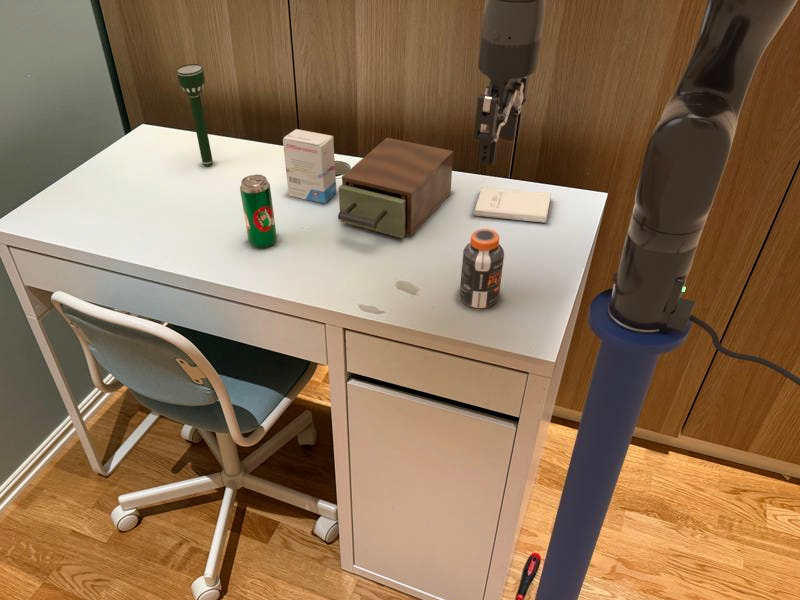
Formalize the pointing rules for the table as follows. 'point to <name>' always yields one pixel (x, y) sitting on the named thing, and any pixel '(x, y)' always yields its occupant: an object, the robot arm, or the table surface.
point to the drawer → (373, 209)
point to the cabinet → (407, 176)
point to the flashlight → (196, 105)
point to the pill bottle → (481, 269)
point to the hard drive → (513, 205)
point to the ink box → (310, 165)
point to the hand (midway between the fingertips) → (496, 151)
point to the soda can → (258, 211)
